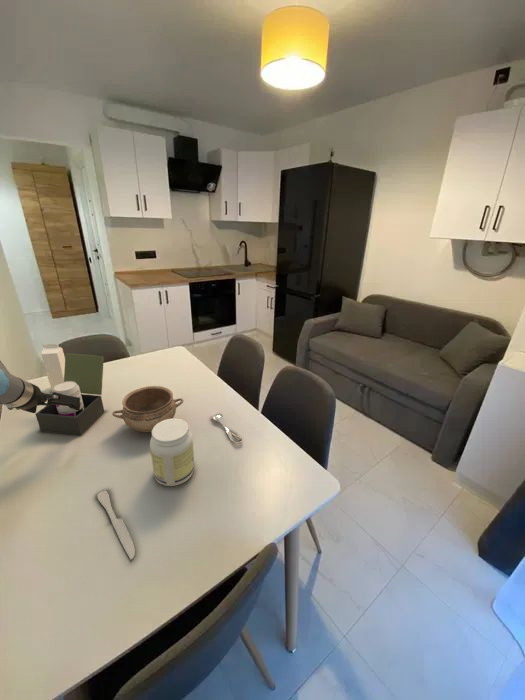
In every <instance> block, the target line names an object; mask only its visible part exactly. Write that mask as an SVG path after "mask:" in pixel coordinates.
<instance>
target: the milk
mask: <svg viewBox="0 0 525 700" xmlns="http://www.w3.org/2000/svg"><path fill="white" fill-rule="evenodd" d="M41 345H42V350H41V353H40V354H41V358H42V361H43V365H44V366H43V367H44V369H45V372H46V375H47V376H46V377H47V380H48V383H49V387H50V389H51V392H52V393H53V390H54V387H55V386H56V385H57V384H59V383H62V382H64V371H65V353H64V349H63V347H62V346H59V343H44V344H43V343H42V344H41Z"/></svg>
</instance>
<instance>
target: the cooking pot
mask: <svg viewBox="0 0 525 700" xmlns="http://www.w3.org/2000/svg"><path fill="white" fill-rule="evenodd" d="M183 403H184V398H182V397H180V398H176V399H174V393H173V392H172V390H171V389H169V388H167V387H164V386H160V385H150V386H143V387H139V388H136V389H134V390H132V391H130V392H129V393H127V394H126V395H125V396H124V398H123V399H122V403H121V404H122V406H123V407H122V409H120V410H114V411H113V412H112V414H111V415H112V416H113V417H115V418H117V419H121V420H123V422H124V424H125V425H126V427H128V428H129V429H130V430H133V431H135V432H139V433H149V432H152V429H153V428H154V426H155V425H156V424H158V423H159V422H161V421H163V420H166V419H173V418H174V417H175V415H176V413H177V408H178V407H180V406H181V405H182V404H183Z"/></svg>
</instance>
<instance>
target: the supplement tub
mask: <svg viewBox="0 0 525 700" xmlns="http://www.w3.org/2000/svg"><path fill="white" fill-rule="evenodd" d="M149 449H150V455H151V463H152V468H153V474H154V475H153V476H154V478H155V480H156V482H158V484H159V485H162V486H165V487H174V486H175V487H176V486H179V485H181V484H183V483H185V482H186V481H188V480H189V479H190V478H191V477H192V475H193V474H194V471H195V466H196V465H195V455H194V439H193V434H192V432H191V431H190V428H189V424H188V423H187V421H185V420H183V419H181V418H176V417H175V418H174V417H173V419H166V420H163V421H161V422H159V423H158V424H156V425H155V426H154V428H153V429H152V431H151V437H150V441H149Z"/></svg>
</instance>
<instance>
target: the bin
mask: <svg viewBox="0 0 525 700" xmlns="http://www.w3.org/2000/svg"><path fill="white" fill-rule="evenodd" d="M81 396H82V401H83V405H84V410H83V411H82V412H81V413H79V414H78V415H77V416H76V417H75V416H64V415H59V414H58V411H57V407H56V405H52V404H51V405H49V406H45V405H44V406H43V408H41V409H40V410H38V411H36V413H34V414H35V418H36V421H37V424H38V426H39V431H40V432H43V433H44V432H45V433H55V434H63V435H64V434H65V435H73V436H82V435H83V434H84V433H85V432H86V431H87V430H88V429H89V428H90V427H91V426H92V425H93V424H94V423H95V422H96V421H98V419H99V418H100V417H101V416H102V415H103V414H104V413H105V407H104V402H103V398H102V395H95V394H84V393H81Z"/></svg>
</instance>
